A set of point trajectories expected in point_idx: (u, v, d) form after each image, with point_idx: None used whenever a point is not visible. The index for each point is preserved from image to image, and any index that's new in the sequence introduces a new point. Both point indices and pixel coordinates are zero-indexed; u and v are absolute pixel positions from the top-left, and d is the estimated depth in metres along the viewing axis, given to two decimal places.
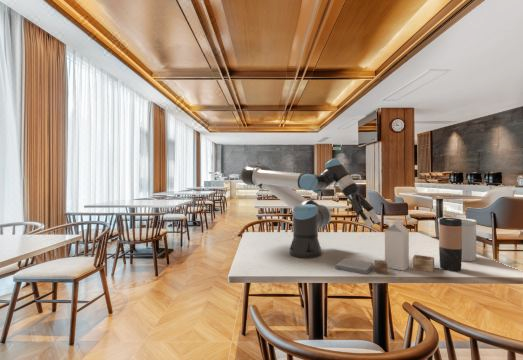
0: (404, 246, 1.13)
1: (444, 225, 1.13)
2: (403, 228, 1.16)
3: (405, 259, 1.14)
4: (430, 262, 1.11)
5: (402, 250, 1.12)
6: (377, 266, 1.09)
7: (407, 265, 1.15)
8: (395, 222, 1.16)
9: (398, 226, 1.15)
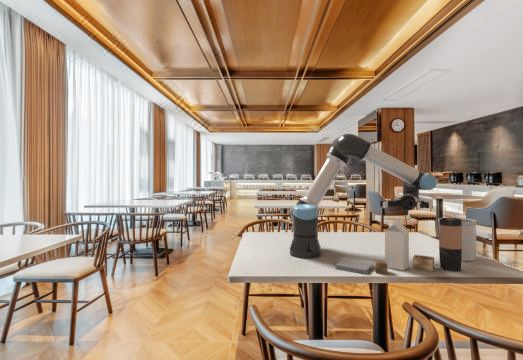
0: (404, 246, 1.13)
1: (444, 225, 1.13)
2: (403, 228, 1.16)
3: (405, 259, 1.14)
4: (430, 262, 1.12)
5: (402, 250, 1.12)
6: (377, 266, 1.09)
7: (407, 265, 1.15)
8: (395, 222, 1.16)
9: (398, 226, 1.15)
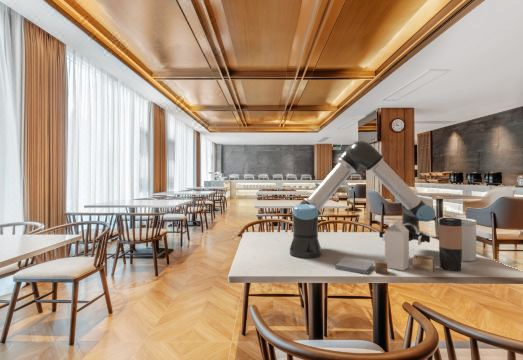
0: (404, 246, 1.13)
1: (444, 225, 1.13)
2: (403, 228, 1.16)
3: (405, 259, 1.14)
4: (430, 262, 1.12)
5: (402, 250, 1.12)
6: (377, 266, 1.09)
7: (407, 265, 1.15)
8: (395, 222, 1.16)
9: (398, 226, 1.15)
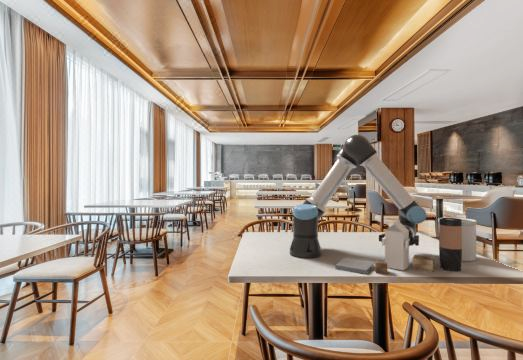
0: (404, 246, 1.13)
1: (444, 225, 1.13)
2: (403, 228, 1.16)
3: (405, 259, 1.14)
4: (430, 262, 1.11)
5: (402, 250, 1.12)
6: (377, 266, 1.09)
7: (407, 265, 1.15)
8: (395, 222, 1.16)
9: (398, 226, 1.15)
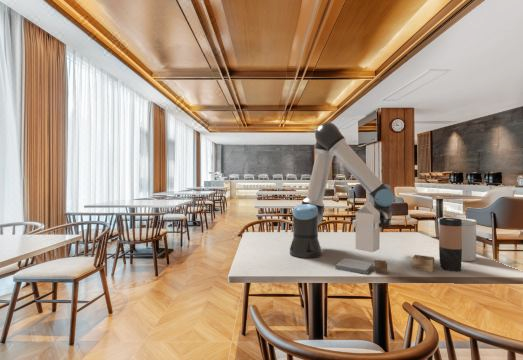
0: (374, 227, 1.12)
1: (444, 225, 1.13)
2: (374, 210, 1.15)
3: (376, 241, 1.14)
4: (430, 262, 1.11)
5: (372, 231, 1.12)
6: (377, 266, 1.09)
7: (377, 247, 1.15)
8: (366, 204, 1.15)
9: (369, 208, 1.14)
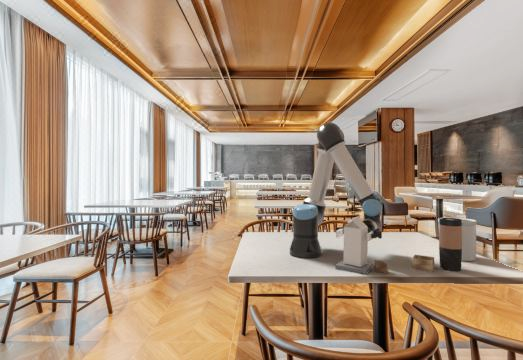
0: (361, 242, 1.12)
1: (444, 225, 1.13)
2: (362, 224, 1.16)
3: (363, 255, 1.14)
4: (430, 262, 1.11)
5: (359, 246, 1.12)
6: (377, 266, 1.10)
7: (365, 261, 1.15)
8: (354, 218, 1.15)
9: (356, 222, 1.14)
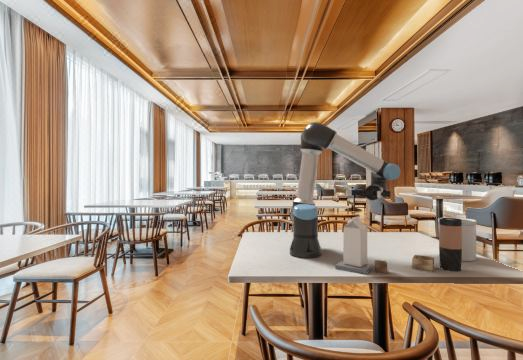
0: (361, 242, 1.12)
1: (444, 225, 1.13)
2: (361, 224, 1.16)
3: (363, 255, 1.14)
4: (430, 262, 1.11)
5: (359, 246, 1.12)
6: (377, 266, 1.09)
7: (365, 261, 1.15)
8: (353, 218, 1.15)
9: (356, 222, 1.15)
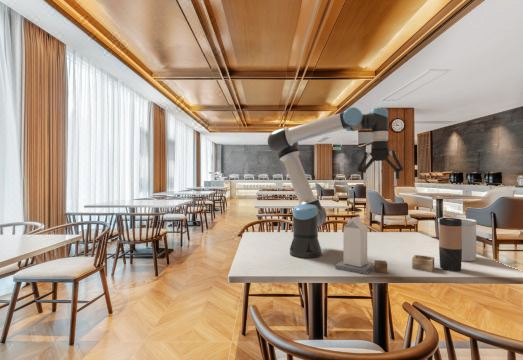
0: (361, 242, 1.12)
1: (444, 225, 1.13)
2: (361, 224, 1.16)
3: (363, 255, 1.14)
4: (430, 262, 1.11)
5: (359, 246, 1.12)
6: (377, 266, 1.09)
7: (365, 261, 1.15)
8: (353, 218, 1.15)
9: (356, 222, 1.15)
